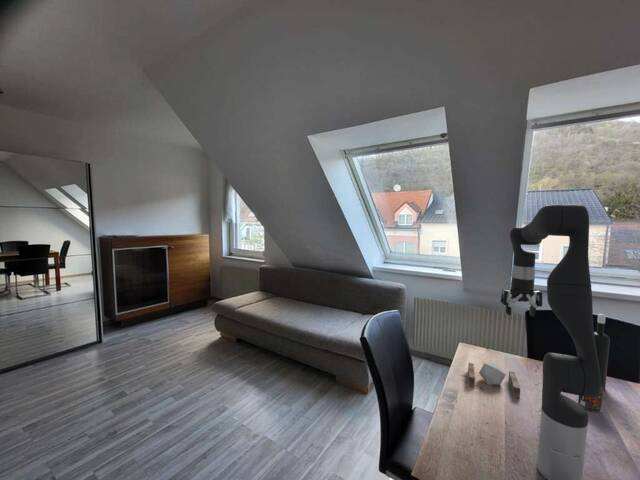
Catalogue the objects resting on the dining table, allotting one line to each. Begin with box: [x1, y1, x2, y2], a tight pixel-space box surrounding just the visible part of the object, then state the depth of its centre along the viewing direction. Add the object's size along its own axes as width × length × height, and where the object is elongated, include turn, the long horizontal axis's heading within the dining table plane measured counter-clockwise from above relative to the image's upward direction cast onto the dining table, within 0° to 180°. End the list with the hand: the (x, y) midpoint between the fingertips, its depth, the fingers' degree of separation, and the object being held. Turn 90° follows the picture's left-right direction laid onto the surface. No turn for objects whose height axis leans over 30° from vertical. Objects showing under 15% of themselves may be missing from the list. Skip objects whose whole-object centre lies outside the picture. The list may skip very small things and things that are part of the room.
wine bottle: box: [594, 313, 611, 391], centre depth 113 cm, size 6×6×30 cm
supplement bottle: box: [577, 386, 604, 413], centre depth 101 cm, size 6×6×11 cm
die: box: [478, 362, 507, 386], centre depth 117 cm, size 8×9×10 cm
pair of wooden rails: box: [467, 362, 521, 399], centre depth 116 cm, size 12×17×4 cm
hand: (520, 315), depth 116 cm, fingers open, 8 cm apart
